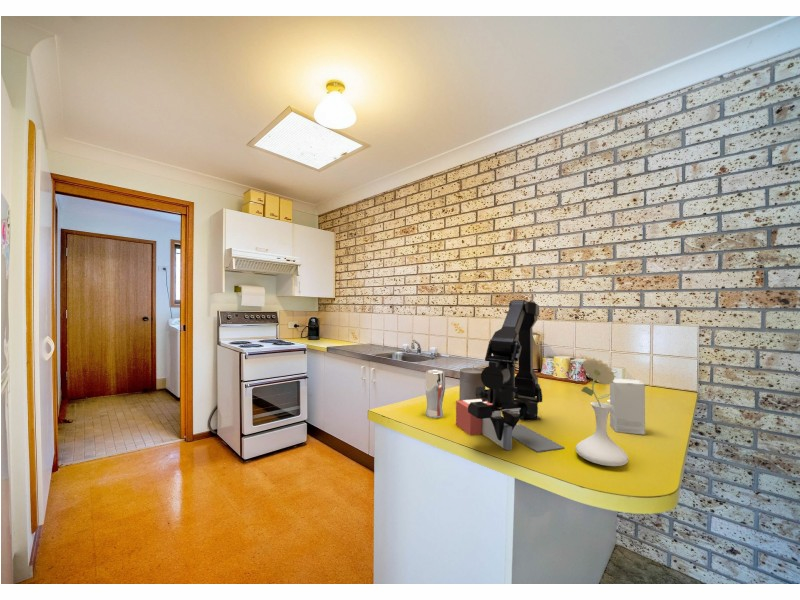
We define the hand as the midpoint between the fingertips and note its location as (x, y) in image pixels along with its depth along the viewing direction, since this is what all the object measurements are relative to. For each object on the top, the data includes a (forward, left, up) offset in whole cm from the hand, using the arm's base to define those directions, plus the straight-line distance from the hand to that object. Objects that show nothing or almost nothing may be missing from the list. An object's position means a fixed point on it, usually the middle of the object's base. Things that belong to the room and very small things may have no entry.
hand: (502, 439), depth 92 cm
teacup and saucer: (-75, -25, -2) cm, 79 cm away
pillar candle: (-10, -34, -2) cm, 35 cm away
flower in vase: (-19, +13, -2) cm, 23 cm away
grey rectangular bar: (0, -6, -2) cm, 6 cm away
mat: (-11, -3, -2) cm, 11 cm away
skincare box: (-45, 0, -2) cm, 45 cm away
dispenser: (0, -13, -2) cm, 13 cm away
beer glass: (+8, -28, -2) cm, 29 cm away
